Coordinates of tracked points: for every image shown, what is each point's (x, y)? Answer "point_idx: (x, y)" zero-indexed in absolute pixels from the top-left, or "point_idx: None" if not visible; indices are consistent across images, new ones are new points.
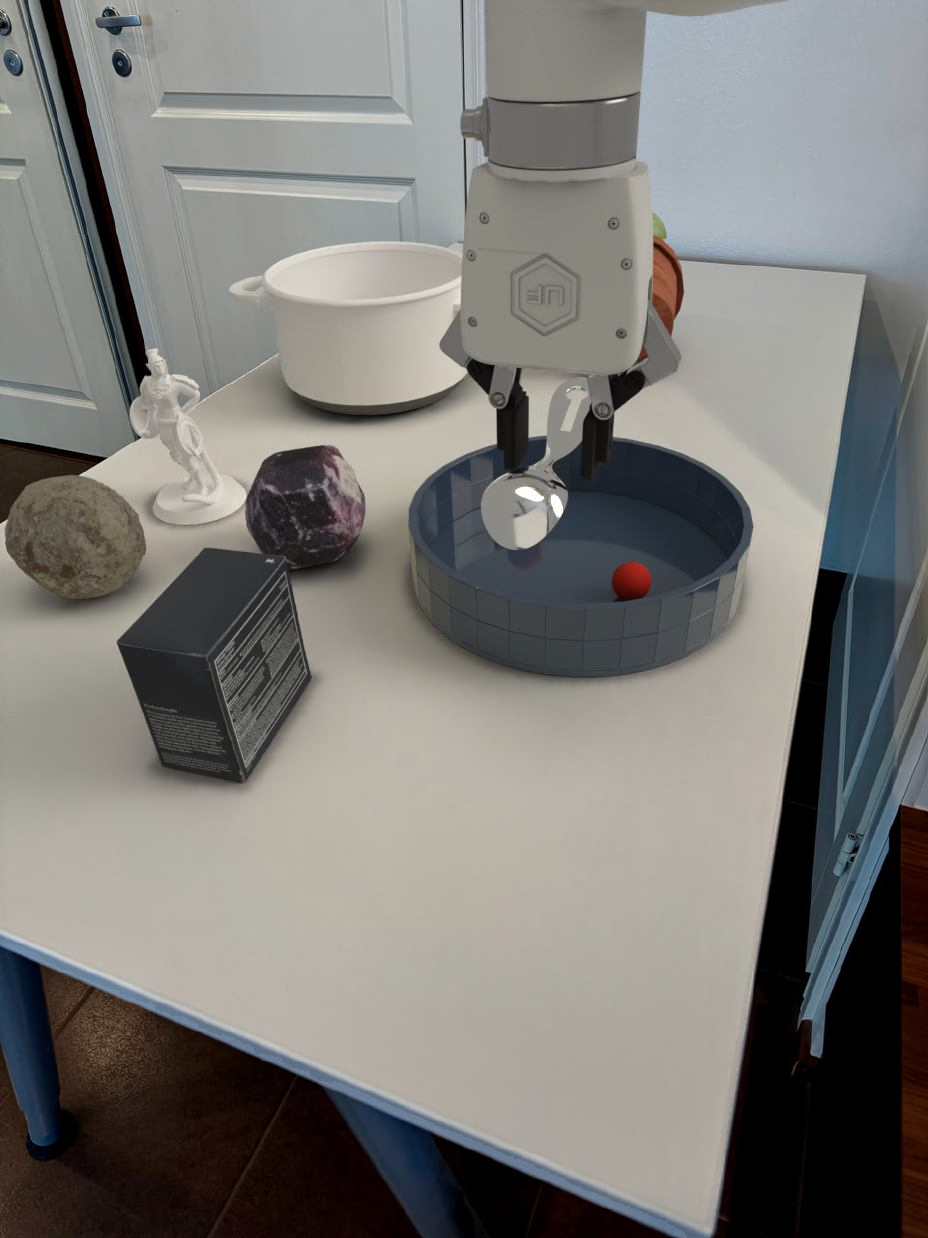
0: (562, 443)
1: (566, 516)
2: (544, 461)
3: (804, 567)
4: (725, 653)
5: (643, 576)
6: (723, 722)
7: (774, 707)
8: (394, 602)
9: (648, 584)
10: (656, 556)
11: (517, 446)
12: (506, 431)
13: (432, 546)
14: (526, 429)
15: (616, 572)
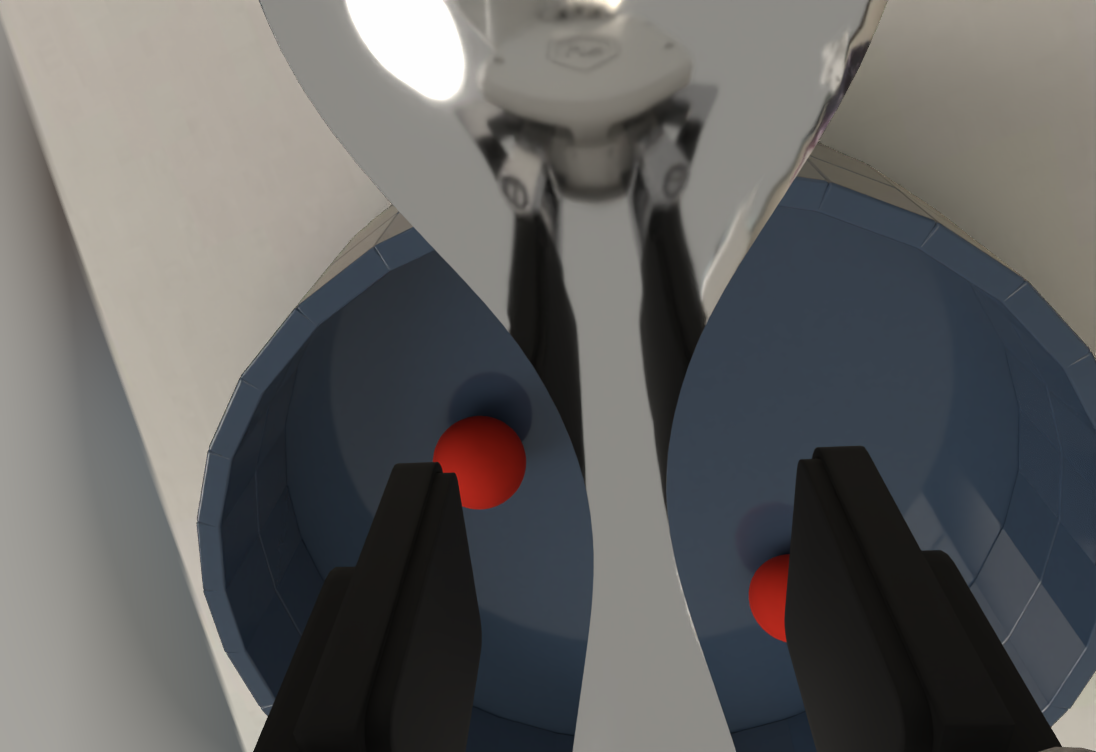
0: (633, 689)
1: (709, 654)
2: (628, 468)
3: (210, 624)
4: (242, 334)
5: (443, 467)
6: (155, 108)
7: (85, 199)
8: (1058, 258)
9: (434, 456)
10: (478, 578)
11: (825, 559)
12: (925, 599)
13: (1006, 480)
14: (815, 705)
15: (510, 465)
